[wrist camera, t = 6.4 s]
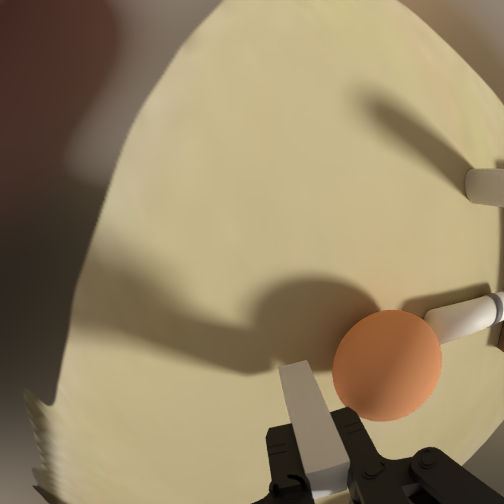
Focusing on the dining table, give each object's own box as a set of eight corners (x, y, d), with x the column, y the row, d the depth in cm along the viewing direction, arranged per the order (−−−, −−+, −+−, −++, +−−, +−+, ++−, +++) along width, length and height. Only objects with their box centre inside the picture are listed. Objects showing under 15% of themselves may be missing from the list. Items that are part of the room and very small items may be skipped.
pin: (437, 354, 13) (505, 326, 13) (449, 320, 12) (514, 298, 13) (418, 333, 15) (487, 312, 16) (427, 301, 15) (495, 285, 15)
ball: (439, 426, 9) (417, 355, 15) (471, 352, 7) (427, 280, 13) (334, 447, 11) (333, 370, 16) (330, 382, 9) (326, 297, 14)
